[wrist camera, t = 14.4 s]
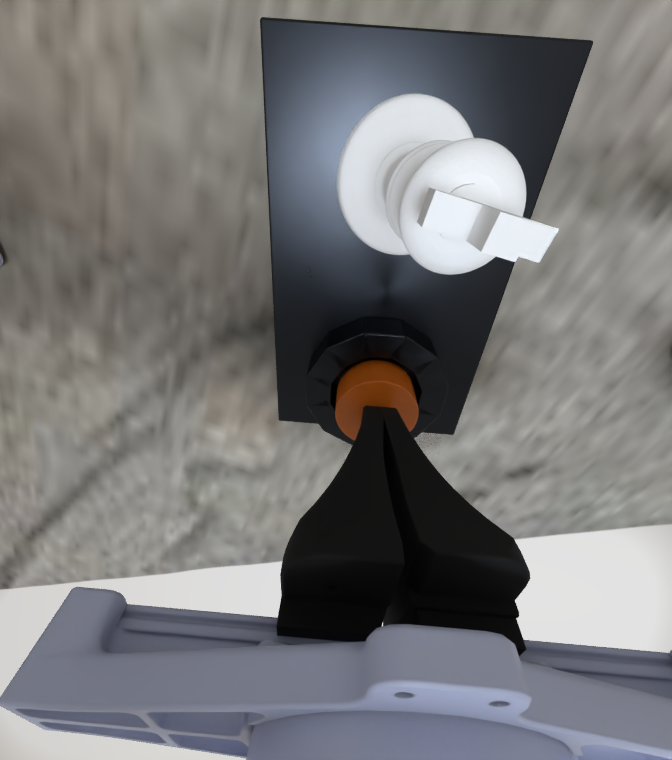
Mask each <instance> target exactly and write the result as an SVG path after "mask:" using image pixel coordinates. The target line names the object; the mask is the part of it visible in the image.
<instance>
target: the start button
mask: <svg viewBox="0 0 672 760" xmlns="http://www.w3.org/2000/svg"><path fill="white" fill-rule="evenodd" d="M366 405H367V406H379V407H391V408H396V409H397V410H398V412H399V414H400V416H401V418H402V419H403V421H404V423H405V425H406V427H407V428H408V430H409V432H410V431H411V430H412V429H413V428H414V426H415V424H416V422H417V419H418V415H419V409H418V404H417V400H416V396H415V392H414V388H413V384H412V381H411V379H410V377H409V375H408V374H407V373H406V372H405V371H404V370H403V369H402V368H401V367H399V366H398V365H396V364H394V363H391V362H388V361H383V360H369V361H364V362H361V363H358V364H356V365H354V366H353V367H351V368H350V369H349V370H347V371H346V372H345V373H344V374H343V376H342V377H341V379H340V381H339V383H338V387H337V397H336V408H335V417H336V421H337V424H338V426H339V428H340V429H341V430H342V432H343V433H344V434H345V435H347V436H348V437H349V438H351V439H353V440H355V439H356V437H357V434H358V431H359V429H360V426H361V420H362V413H363V407H365V406H366Z"/></svg>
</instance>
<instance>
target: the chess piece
mask: <svg viewBox="0 0 672 760" xmlns="http://www.w3.org/2000/svg"><path fill="white" fill-rule="evenodd" d="M337 193H338V199H339V204H340V207H341V211H342V213H343V216H344V218H345V220H346V222H347V224H348V225H349V227H350V228H351V230H352V231H353V232H354V233H355V235H356V236H357V237H358V238H359V239H361V240H362V241H363V242H364V243H365V244H367V245H368V246H370V247H371V248H373V249H375V250H377V251H380V252H383V253H386V254H392V255H409V254H410V256H411V257H412V258H413V259H414V260H415V261H416V262H417V263H418V264H419V265H421V266H422V267H424V268H426V269H428V270H430V271H432V272H435V273H439V274H447V275H454V274H462V273H466V272H470V271H472V270H475V269H477V268H479V267H481V266H483V265H485V264H486V263H488V262H489V261H491V260H492V259H493V258H495V257H500V258H503V259H506V260H509V261H513V262H515V261H516V260H517V258H518V257H522V258H525V259H528V260H531V261H535V262H538V263H539V262H540V260H541V259H542V257H543V255H544V254H545V252H546V250H547V249H548V247H549V245H550V244H551V242H552V240H553V239H554V237H555V235H556V234H557V232H558V230H559V229H557V228H554V227H552V226H549V225H546V224H543V223H540V222H537V221H534V220H531V219H527V218H524V217H523V213H524V209H525V203H526V183H525V178H524V174H523V171H522V169H521V166H520V165H519V163H518V161H517V160H516V158H515V157H514V156H513V154H512V153H511V152H510V151H509V150H507V149H506V148H505V147H503V146H502V145H500V144H498V143H496V142H494V141H491V140H487V139H482V138H474V137H473V134H472V132H471V130H470V128H469V126H468V124H467V122H466V121H465V119H464V118H463V117H462V115H461V114H460V113H459V112H458V111H457V110H456V109H455V108H454V107H452V106H451V105H450V104H448V103H447V102H445V101H443V100H441V99H439V98H436V97H433V96H430V95H425V94H404V95H399V96H395V97H393V98H390V99H388V100H386V101H384V102H382V103H380V104H378V105H377V106H375V107H374V108H373V109H371V110H370V111H369V112H368V113H367V114H366V115H365V116H364V117H363V118H362V119H361V120H360V121H359V122H358V124H357V125H356V126H355V128H354V129H353V131H352V132H351V134H350V136H349V137H348V139H347V141H346V143H345V146H344V148H343V151H342V154H341V157H340V161H339V166H338V173H337Z"/></svg>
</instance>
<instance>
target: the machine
mask: <svg viewBox="0 0 672 760" xmlns="http://www.w3.org/2000/svg"><path fill="white" fill-rule="evenodd" d="M260 28H261V49H262V70H263V92H264V113H265V134H266V156H267V177H268V199H269V220H270V241H271V263H272V284H273V305H274V327H275V348H276V370H277V391H278V412H279V420H281V421H293V422H305V423H317V424H319V425H320V426H321V428H322V429H323V430H324V431H326V432H328V433H330V434H331V435H333V436H335V437H337V438H339V439H341V440H343V441H345V442H347V443H349V444H351V445H353V444H354V442H355V440H353V439H351V438H349V437H348V436H347V435H345V434H344V433H343V432H342V430H341V429H340V428H339V426H338V424H337V421H336V417H335V408H336V397H337V387H338V383H339V381H340V379H341V377H342V376H343V374H344V373H345V372H346V371H347V370H349V369H350V368H351V367H353V366H354V365H356V364H358V363H361V362H364V361H369V360H383V361H388V362H391V363H394V364H396V365H398V366H399V367H401V368H402V369H403V370H404V371H405V372H406V373H407V374H408V375H409V377H410V379H411V381H412V384H413V388H414V392H415V396H416V400H417V404H418V409H419V415H418V419H417V422H416V424H415V426H414V428H413V429H412V430H411V431H410V433H411V435H412V436H413V438H415V437H417V436H418V435H419V434H420V433H421V432H425V433H438V434H450V435H453V434H454V432H455V429H456V426H457V423H458V420H459V418H460V415H461V412H462V409H463V406H464V404H465V401H466V398H467V395H468V392H469V390H470V387H471V384H472V381H473V378H474V376H475V373H476V370H477V367H478V364H479V362H480V359H481V356H482V353H483V350H484V348H485V345H486V342H487V339H488V336H489V333H490V331H491V328H492V325H493V322H494V319H495V317H496V314H497V311H498V308H499V305H500V303H501V300H502V297H503V294H504V291H505V289H506V286H507V283H508V280H509V277H510V275H511V272H512V269H513V266H514V263H515V262H513V261H509V260H506V259H503V258H500V257H495V258H493V259H492V260H491V261H489V262H488V263H486V264H485V265H483V266H481V267H479V268H477V269H475V270H472V271H470V272H466V273H462V274H454V275H447V274H439V273H435V272H432V271H430V270H428V269H426V268H424V267H422V266H421V265H419V264H418V263H417V262H416V261H415V260H414V259H413V258H412V257H411V256H410V254H409V255H392V254H386V253H383V252H380V251H377V250H375V249H373V248H371V247H370V246H368V245H367V244H365V243H364V242H363V241H362V240H361V239H359V238H358V237H357V236H356V235H355V233H354V232H353V231H352V230H351V228H350V227H349V225H348V224H347V222H346V220H345V218H344V216H343V213H342V211H341V207H340V204H339V199H338V193H337V173H338V166H339V161H340V157H341V154H342V151H343V148H344V146H345V143H346V141H347V139H348V137H349V136H350V134H351V132H352V131H353V129H354V128H355V126H356V125H357V124H358V122H359V121H360V120H361V119H362V118H363V117H364V116H365V115H366V114H367V113H368V112H369V111H370V110H371V109H373V108H374V107H375V106H377V105H378V104H380V103H382V102H384V101H386V100H388V99H390V98H393V97H395V96H399V95H404V94H425V95H430V96H433V97H436V98H439V99H441V100H443V101H445V102H447V103H448V104H450V105H451V106H452V107H454V108H455V109H456V110H457V111H458V112H459V113H460V114H461V115H462V117H463V118H464V119H465V121H466V122H467V124H468V126H469V128H470V130H471V132H472V134H473V137H474V138H482V139H487V140H491V141H494V142H496V143H498V144H500V145H502V146H503V147H505V148H506V149H507V150H509V151H510V152H511V153H512V154H513V156H514V157H515V158H516V160H517V161H518V163H519V165H520V166H521V169H522V171H523V174H524V178H525V183H526V203H525V209H524V213H523V217H524V218H527V219H530V218H531V216H532V213H533V210H534V207H535V204H536V202H537V199H538V196H539V193H540V190H541V188H542V185H543V182H544V179H545V176H546V174H547V171H548V168H549V165H550V162H551V160H552V157H553V154H554V151H555V148H556V145H557V143H558V140H559V137H560V134H561V131H562V129H563V126H564V123H565V120H566V117H567V115H568V112H569V109H570V106H571V103H572V101H573V98H574V95H575V92H576V89H577V87H578V84H579V81H580V78H581V75H582V73H583V70H584V67H585V64H586V61H587V59H588V56H589V53H590V50H591V47H592V44H593V41H591V40H578V39H564V38H550V37H535V36H521V35H507V34H493V33H479V32H465V31H450V30H436V29H422V28H408V27H394V26H380V25H365V24H351V23H337V22H323V21H309V20H295V19H280V18H266V17H262V18H261V19H260Z"/></svg>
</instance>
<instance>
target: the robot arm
mask: <svg viewBox="0 0 672 760" xmlns="http://www.w3.org/2000/svg"><path fill="white" fill-rule="evenodd" d="M1 265H3V258H2V255H1V253H0V266H1ZM529 579H530V572H529V570H528V567H527V565H526V563H525V560H524V558H523V556H522V554H521V551H520V550H519V548H518V546H517V544H516V542H515V540H514V538H513V537H511V536H510V535H509V534H507V533H506V532H505V531H503V530H502V529H500V528H499V527H498V526H496V525H495V524H494V523H492V522H491V521H490V520H488V519H487V518H486V517H485V516H483V515H482V514H481V513H480V512H479V511H477V510H476V509H475V508H474V507H473V506H472V505H470V504H469V503H468V502H467V501H466V500H465V499H464V498H463V497H462V496H461V495H460V494H459V493H458V492H457V491H456V490H455V489H453V488H452V487H451V485H450V484H449V483H448V482H447V481H446V480H445V479H444V478H443V477H442V476H441V474H440V473H439V472H438V471H437V470H436V469H435V467H434V466H433V465H432V464H431V462H430V461H429V460H428V458H427V457H426V456H425V454H424V453H423V451H422V450H421V449H420V447H419V446H418V444H417V443H416V441H415V440H414V438H413V436H412V435H411V433H410V432H409V430H408V428H407V427H406V425H405V423H404V421H403V419H402V418H401V416H400V414H399V412H398V410H397V409H396V408H391V407H379V406H367V405H366V406H365V407H363V413H362V420H361V426H360V429H359V431H358V434H357V437H356V439H355V442H354V444H353V446H352V448H351V450H350V452H349V454H348V456H347V458H346V460H345V462H344V464H343V465H342V467H341V469H340V470H339V472H338V473H337V475H336V476H335V478H334V479H333V481H332V482H331V484H330V485H329V486H328V488H327V489H326V490H325V492H324V493H323V494H322V495H321V497H320V498H319V499H318V500H317V502H316V503H315V504H314V505H313V506H312V507H311V508H310V509H309V510H308V511H307V512H306V513H305V515H304V516H303V517H302V518H301V519H300V520H299V522H298V524H297V526H296V528H295V530H294V532H293V534H292V536H291V538H290V540H289V542H288V545H287V547H286V550H285V553H284V557H283V562H282V569H281V590H282V597H281V603H280V609H279V615H278V618H274V617H263V616H252V615H240V614H230V613H219V612H208V611H197V610H186V609H174V608H164V607H152V606H141V605H130V604H127V603H126V600H125V598H124V596H123V595H122V594H121V593H118V592H116V591H112V590H106V589H94V588H84V587H75V588H73V589H72V590H71V591H70V593H69V595H68V596H67V598H66V599H65V600H64V602H63V603H62V605H61V607H60V608H59V610H58V611H57V613H56V614H55V616H54V617H53V619H52V620H51V622H50V623H49V625H48V626H47V628H46V629H45V631H44V632H43V634H42V635H41V637H40V638H39V640H38V641H37V643H36V644H35V646H34V647H33V649H32V650H31V652H30V653H29V655H28V657H27V658H26V660H25V661H24V662H23V664H22V665H21V667H20V668H19V670H18V671H17V673H16V674H15V676H14V677H13V679H12V681H11V682H10V683H9V685H8V686H7V688H6V689H5V691H4V692H3V694H2V696H1V697H0V706H1V707H3V708H6V709H7V710H9V711H11V712H13V713H15V714H16V715H18V716H20V717H22V718H24V719H26V720H28V721H29V722H31V723H33V724H35V725H37V726H39V727H41V728H43V729H45V730H52V731H62V732H71V733H81V734H89V735H97V736H104V737H112V738H119V739H126V740H133V741H139V742H146V743H152V744H159V745H165V746H172V747H177V748H185V749H190V750H197V751H203V752H209V753H216V754H222V755H229V756H235V757H241V758H246V760H672V650H671V651H670V653H662V652H651V651H640V650H628V649H618V648H607V647H596V646H585V645H574V644H562V643H551V642H540V641H529V640H523V638H522V635H521V632H520V629H519V626H518V624H517V620H516V618H518V617H519V612H518V609H517V606H516V603H515V599H516V598H517V597H518V596H519V594H520V593H521V592H522V591H523V589H524V588H525V587H526V585H527V583H528V581H529ZM382 622H383V627H382Z"/></svg>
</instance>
